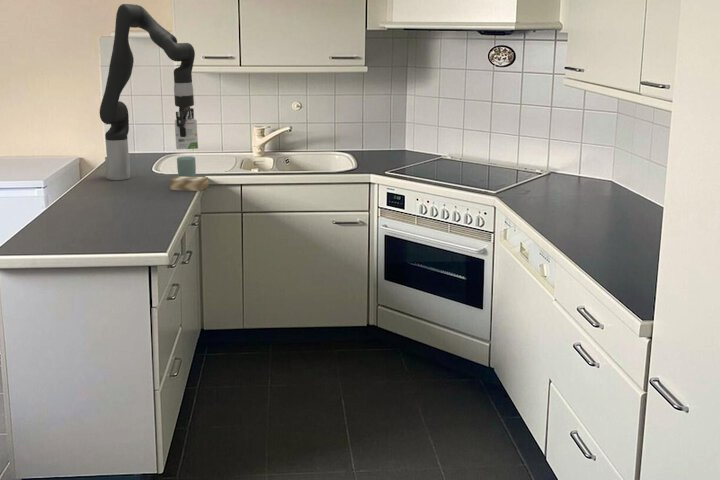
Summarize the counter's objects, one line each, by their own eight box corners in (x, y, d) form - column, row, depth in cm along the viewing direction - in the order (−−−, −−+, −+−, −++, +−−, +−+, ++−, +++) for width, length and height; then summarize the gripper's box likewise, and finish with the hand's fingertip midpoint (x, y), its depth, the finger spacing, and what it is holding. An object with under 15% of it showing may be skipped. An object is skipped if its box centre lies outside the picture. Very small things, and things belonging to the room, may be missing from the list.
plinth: (170, 189, 349) (170, 180, 348) (178, 185, 358) (178, 176, 357) (201, 190, 347) (200, 180, 346) (208, 186, 356) (208, 176, 355)
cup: (194, 182, 365) (193, 159, 363) (176, 182, 365) (174, 159, 363) (198, 178, 373) (196, 156, 370) (180, 178, 373) (179, 156, 370)
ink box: (197, 147, 352) (195, 118, 349) (198, 148, 347) (196, 119, 344) (175, 148, 349) (174, 119, 346) (176, 149, 345) (175, 120, 342)
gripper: (181, 92, 350) (183, 133, 354) (168, 95, 336) (170, 138, 341) (199, 92, 349) (201, 133, 353) (186, 95, 335) (188, 138, 339)
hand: (186, 135), depth 347 cm, fingers closed on ink box, 6 cm apart
